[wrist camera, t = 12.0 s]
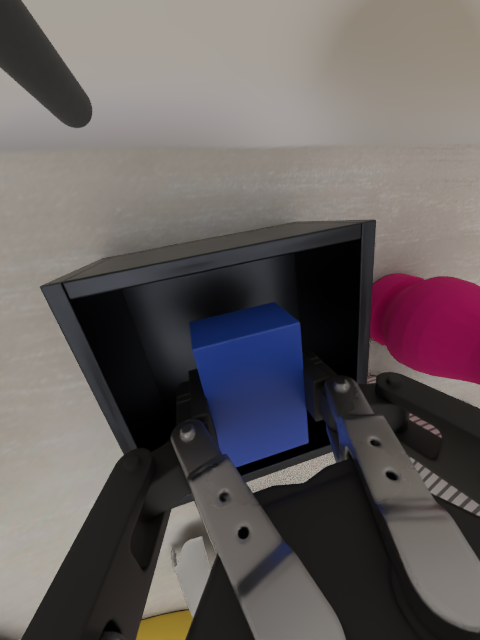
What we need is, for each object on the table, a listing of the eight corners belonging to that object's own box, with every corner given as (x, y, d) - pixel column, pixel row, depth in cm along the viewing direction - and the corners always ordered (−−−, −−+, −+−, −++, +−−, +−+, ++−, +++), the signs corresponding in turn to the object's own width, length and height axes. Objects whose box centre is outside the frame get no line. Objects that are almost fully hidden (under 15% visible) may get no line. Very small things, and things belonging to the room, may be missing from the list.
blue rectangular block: (286, 404, 15) (309, 443, 13) (217, 426, 15) (225, 471, 12) (274, 301, 13) (300, 321, 10) (188, 321, 12) (191, 349, 9)
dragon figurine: (155, 535, 27) (142, 689, 18) (284, 480, 26) (328, 612, 18) (213, 570, 34) (222, 690, 26) (314, 528, 34) (354, 636, 26)
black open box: (162, 416, 21) (154, 515, 14) (101, 258, 16) (38, 286, 8) (306, 374, 23) (364, 441, 16) (296, 221, 18) (376, 219, 11)
